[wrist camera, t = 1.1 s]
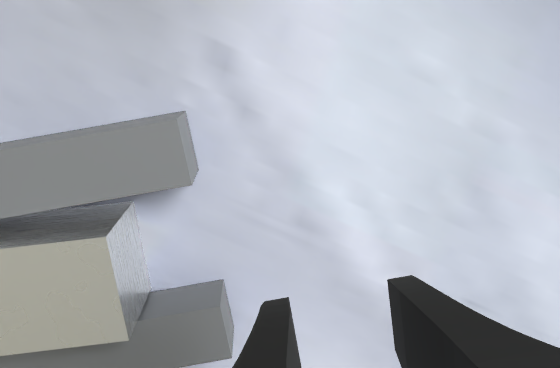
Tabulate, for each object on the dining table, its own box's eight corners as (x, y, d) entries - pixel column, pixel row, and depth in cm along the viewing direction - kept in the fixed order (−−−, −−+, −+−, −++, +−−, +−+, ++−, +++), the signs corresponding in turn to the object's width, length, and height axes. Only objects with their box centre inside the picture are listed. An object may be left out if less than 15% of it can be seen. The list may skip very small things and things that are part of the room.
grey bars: (233, 326, 21) (231, 357, 19) (-121, 390, 21) (-162, 429, 19) (185, 110, 18) (176, 119, 16) (-225, 182, 18) (-288, 200, 16)
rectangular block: (152, 285, 20) (128, 340, 17) (-80, 312, 20) (-158, 375, 16) (134, 199, 19) (106, 236, 15) (-112, 226, 19) (-204, 272, 15)
